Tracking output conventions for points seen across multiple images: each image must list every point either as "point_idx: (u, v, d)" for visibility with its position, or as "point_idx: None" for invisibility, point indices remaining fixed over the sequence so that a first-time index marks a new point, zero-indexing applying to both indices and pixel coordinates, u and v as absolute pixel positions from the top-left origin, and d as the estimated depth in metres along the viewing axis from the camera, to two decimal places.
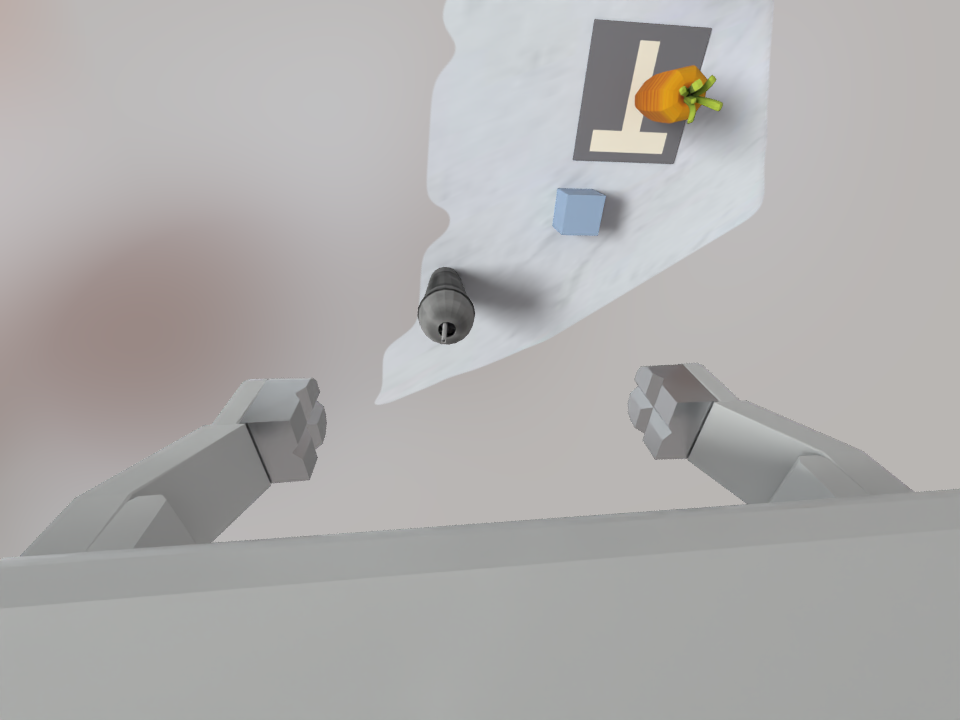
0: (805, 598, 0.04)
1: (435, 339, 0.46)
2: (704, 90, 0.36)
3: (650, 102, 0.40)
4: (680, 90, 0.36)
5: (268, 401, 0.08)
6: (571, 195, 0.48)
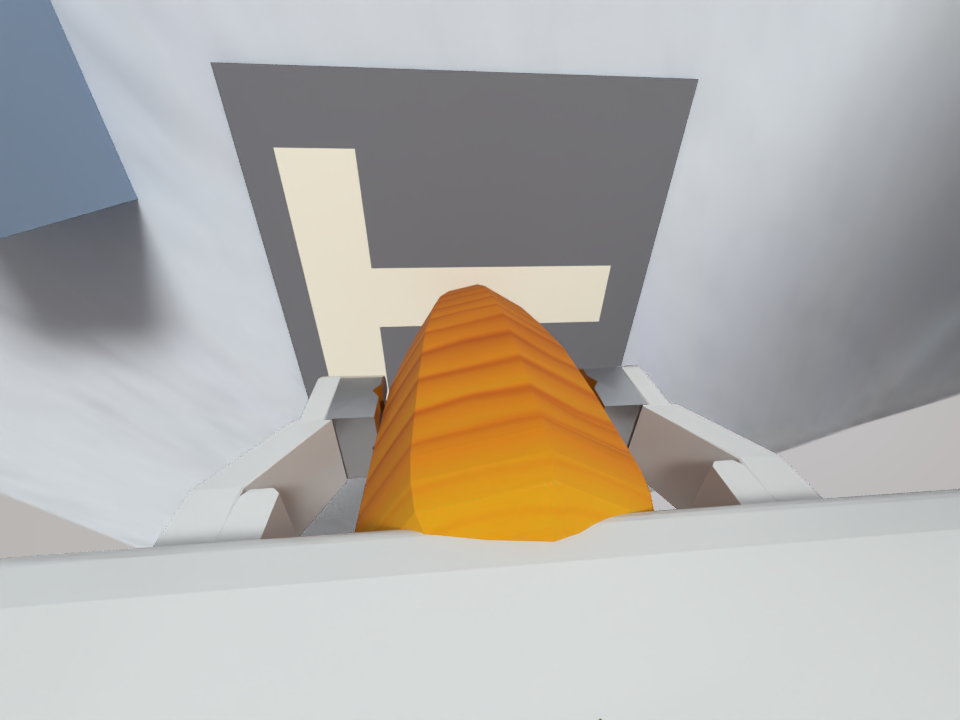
0: (805, 598, 0.04)
1: None
2: None
3: (460, 372, 0.07)
4: None
5: (348, 398, 0.08)
6: None
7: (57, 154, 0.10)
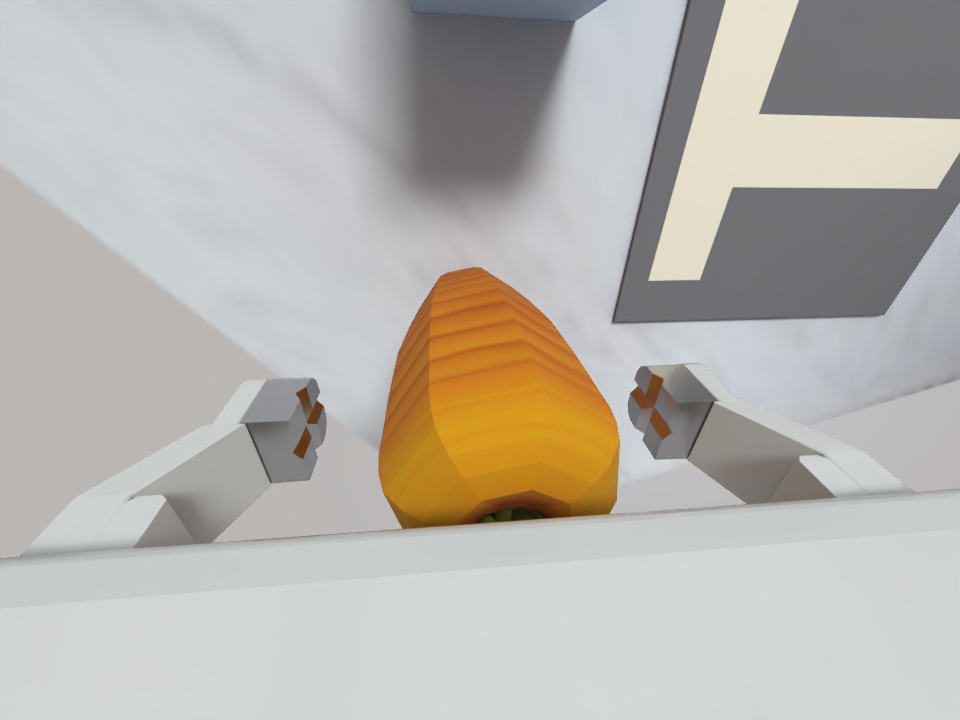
0: (805, 598, 0.04)
1: None
2: None
3: (465, 332, 0.08)
4: None
5: (268, 401, 0.08)
6: None
7: None
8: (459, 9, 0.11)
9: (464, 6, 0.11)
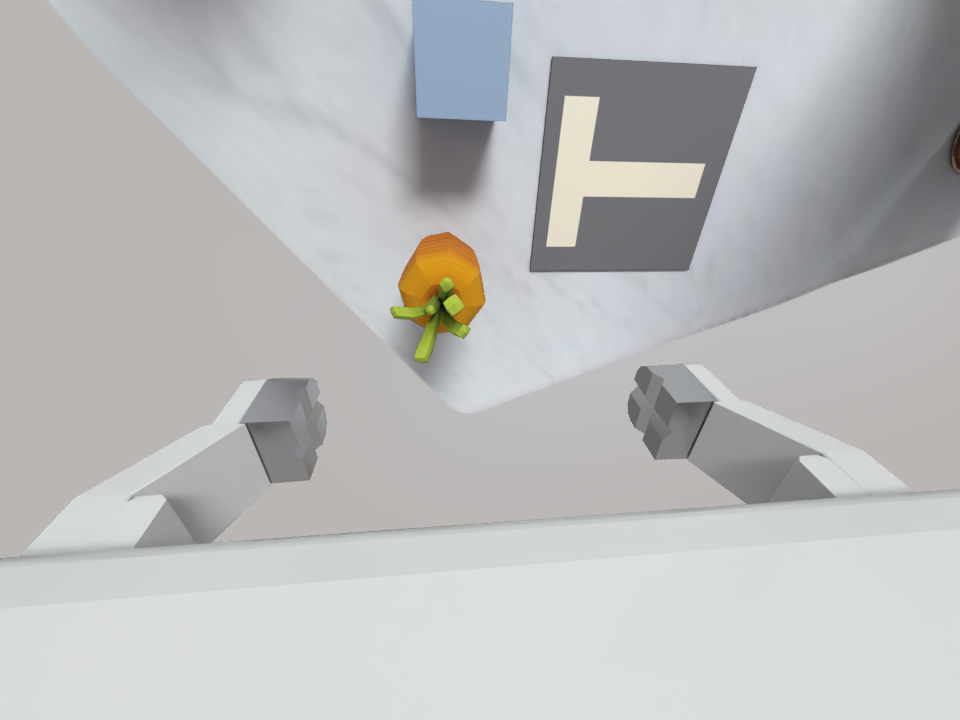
0: (805, 598, 0.04)
1: None
2: (447, 324, 0.19)
3: (431, 244, 0.22)
4: (446, 280, 0.18)
5: (268, 401, 0.08)
6: (510, 16, 0.19)
7: None
8: None
9: None
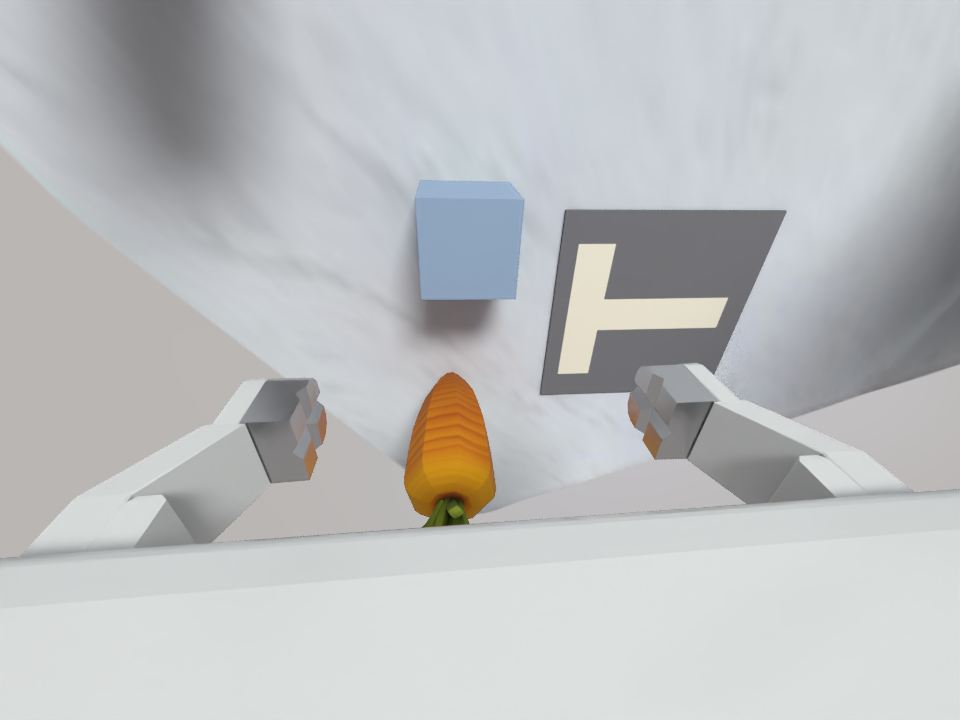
0: (805, 598, 0.04)
1: None
2: None
3: (439, 428, 0.21)
4: (455, 509, 0.17)
5: (268, 401, 0.08)
6: (521, 210, 0.18)
7: None
8: None
9: None
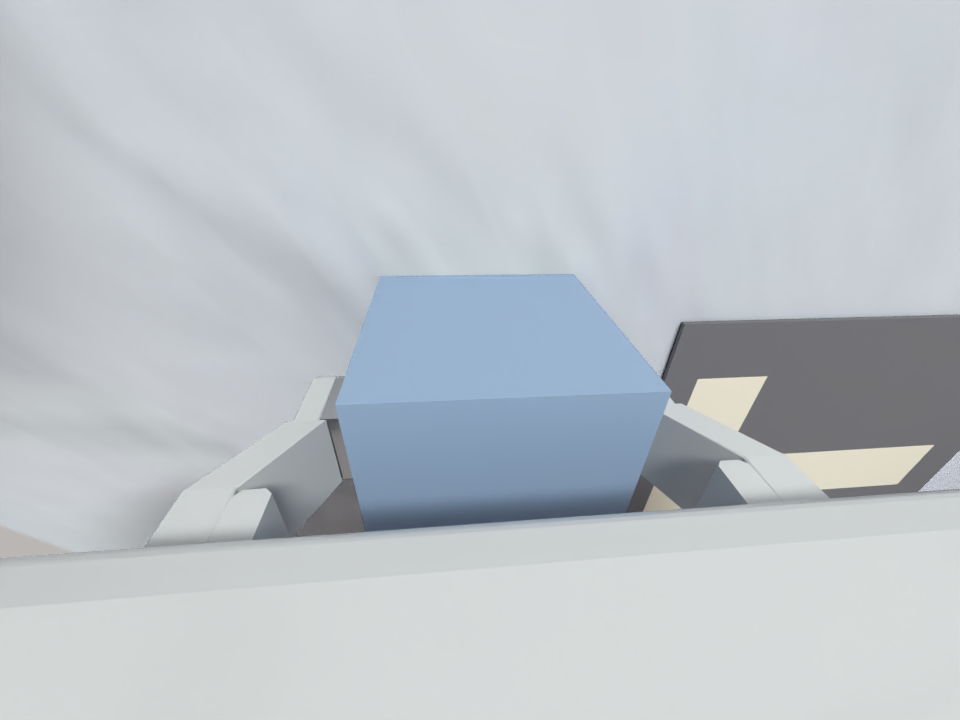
0: (805, 598, 0.04)
1: None
2: None
3: None
4: None
5: None
6: (654, 414, 0.06)
7: None
8: None
9: None
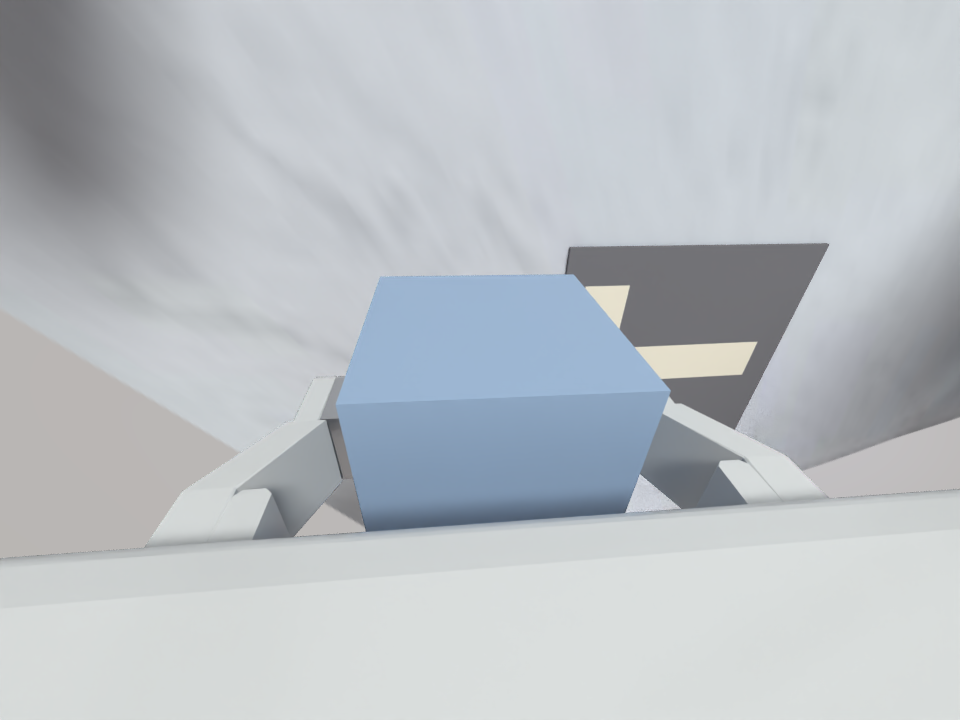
0: (805, 598, 0.04)
1: None
2: None
3: None
4: None
5: None
6: (653, 413, 0.06)
7: None
8: None
9: None
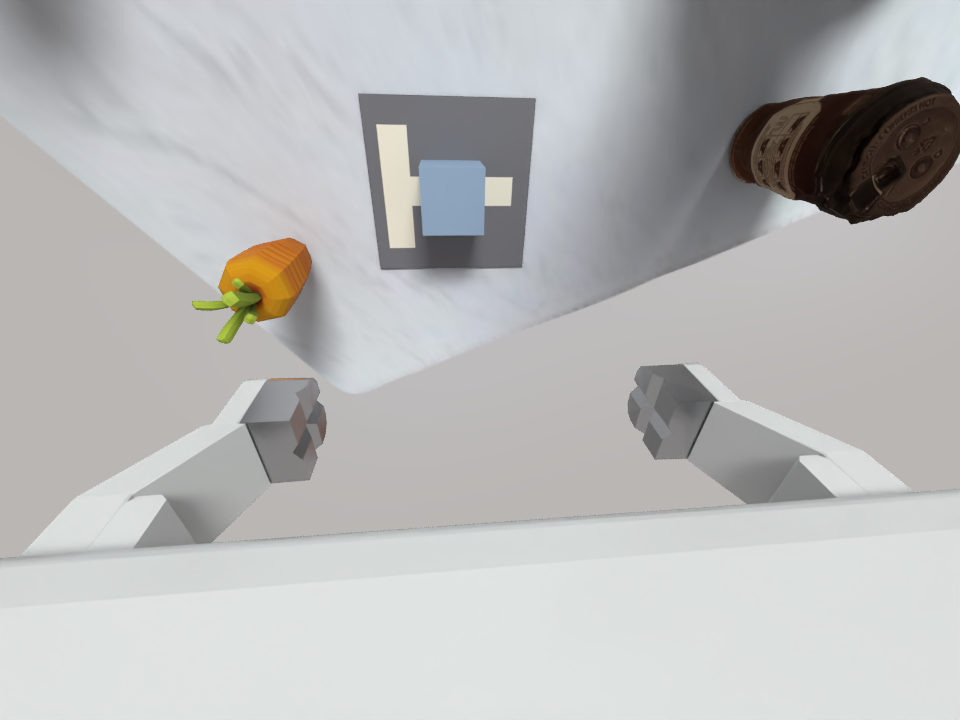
0: (805, 598, 0.04)
1: None
2: (245, 314, 0.25)
3: (251, 250, 0.27)
4: (236, 280, 0.24)
5: (268, 401, 0.08)
6: (484, 175, 0.29)
7: None
8: None
9: None
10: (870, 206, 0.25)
